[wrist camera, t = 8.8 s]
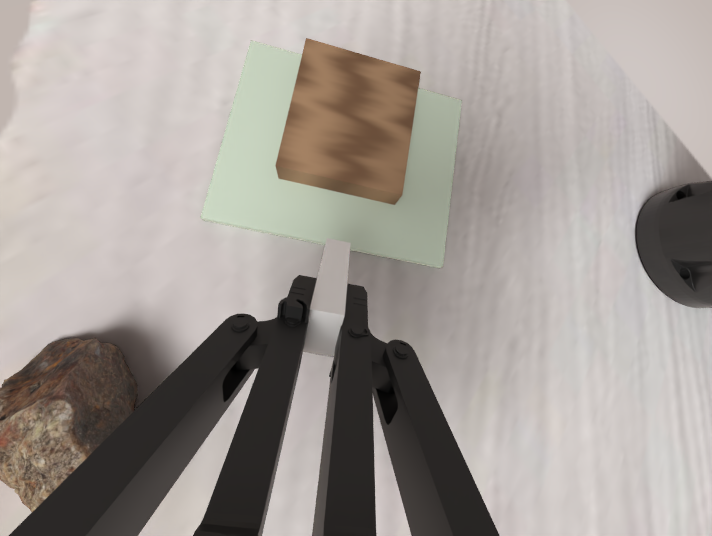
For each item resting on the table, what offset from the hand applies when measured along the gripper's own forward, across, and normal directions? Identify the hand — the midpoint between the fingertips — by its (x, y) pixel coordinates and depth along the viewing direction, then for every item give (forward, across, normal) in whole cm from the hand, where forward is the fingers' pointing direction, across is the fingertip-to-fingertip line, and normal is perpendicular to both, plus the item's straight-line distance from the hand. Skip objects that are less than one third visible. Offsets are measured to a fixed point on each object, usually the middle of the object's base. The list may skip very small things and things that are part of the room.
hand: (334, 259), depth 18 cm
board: (+12, -1, +1) cm, 12 cm away
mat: (+16, -1, +3) cm, 17 cm away
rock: (-3, -16, -18) cm, 24 cm away
